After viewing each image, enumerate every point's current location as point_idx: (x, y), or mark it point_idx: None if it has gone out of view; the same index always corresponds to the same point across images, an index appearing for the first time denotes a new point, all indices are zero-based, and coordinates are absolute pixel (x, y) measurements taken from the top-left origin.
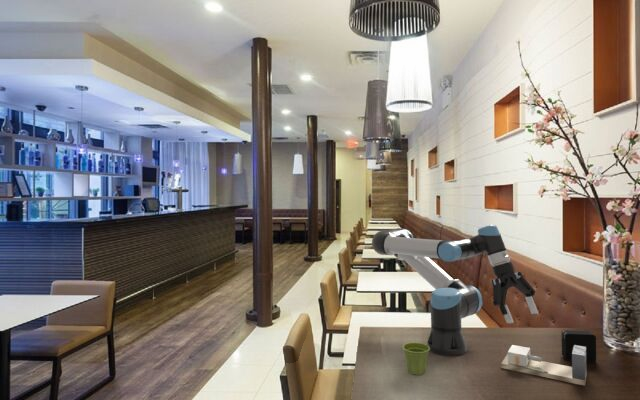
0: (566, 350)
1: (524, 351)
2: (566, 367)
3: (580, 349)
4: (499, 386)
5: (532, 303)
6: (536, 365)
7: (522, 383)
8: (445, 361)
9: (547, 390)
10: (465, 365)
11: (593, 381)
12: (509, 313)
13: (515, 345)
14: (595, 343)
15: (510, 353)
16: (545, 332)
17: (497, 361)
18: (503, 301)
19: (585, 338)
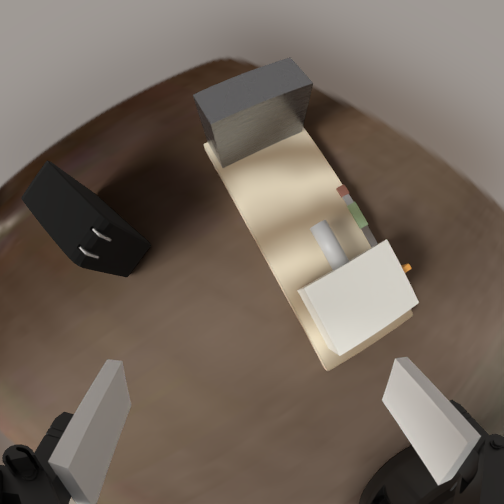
0: (138, 237)
1: (360, 272)
2: (242, 182)
3: (242, 87)
4: (480, 228)
5: (95, 423)
6: None
7: (428, 207)
8: (482, 411)
9: (399, 150)
10: (468, 371)
11: None
12: (437, 394)
13: (334, 343)
14: (63, 171)
15: (412, 293)
16: (18, 418)
17: (376, 361)
18: (501, 459)
19: (71, 181)
